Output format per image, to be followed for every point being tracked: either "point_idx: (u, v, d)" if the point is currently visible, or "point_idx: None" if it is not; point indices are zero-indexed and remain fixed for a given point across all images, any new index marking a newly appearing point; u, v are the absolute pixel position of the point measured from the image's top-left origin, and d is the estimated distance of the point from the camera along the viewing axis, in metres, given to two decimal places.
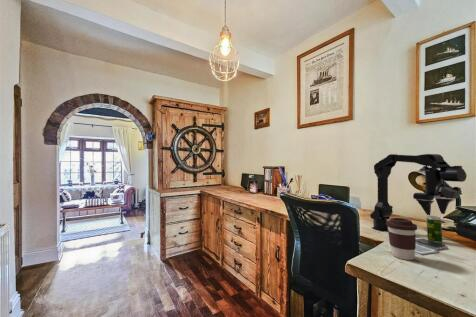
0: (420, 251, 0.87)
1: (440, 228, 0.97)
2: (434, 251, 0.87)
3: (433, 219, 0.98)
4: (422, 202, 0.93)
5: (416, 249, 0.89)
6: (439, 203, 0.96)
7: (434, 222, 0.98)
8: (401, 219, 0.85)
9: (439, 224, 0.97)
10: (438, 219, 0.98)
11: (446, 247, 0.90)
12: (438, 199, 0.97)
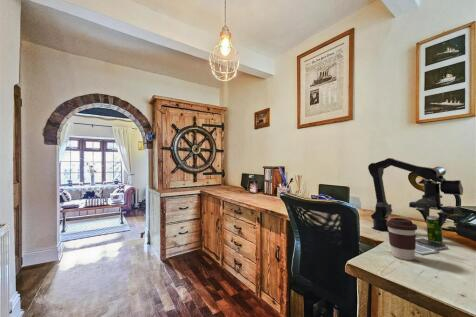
0: (420, 251, 0.87)
1: (440, 228, 0.97)
2: (434, 251, 0.87)
3: (433, 219, 0.98)
4: None
5: (416, 249, 0.89)
6: None
7: (434, 222, 0.98)
8: (401, 219, 0.85)
9: None
10: (438, 219, 0.98)
11: (446, 247, 0.90)
12: None
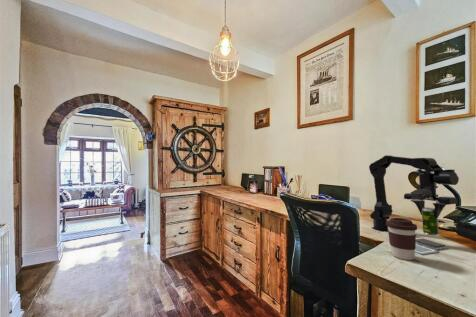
0: (420, 251, 0.87)
1: (436, 220, 0.94)
2: (434, 251, 0.87)
3: (429, 211, 0.95)
4: None
5: (416, 249, 0.89)
6: None
7: (430, 214, 0.95)
8: (401, 219, 0.85)
9: None
10: (434, 210, 0.94)
11: (446, 247, 0.90)
12: None
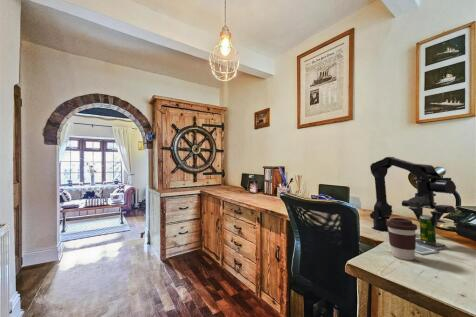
0: (420, 251, 0.87)
1: (433, 228, 0.93)
2: (434, 251, 0.87)
3: (426, 218, 0.94)
4: None
5: (416, 249, 0.89)
6: None
7: (427, 222, 0.93)
8: (401, 219, 0.85)
9: (432, 224, 0.93)
10: (431, 218, 0.93)
11: (446, 247, 0.90)
12: None
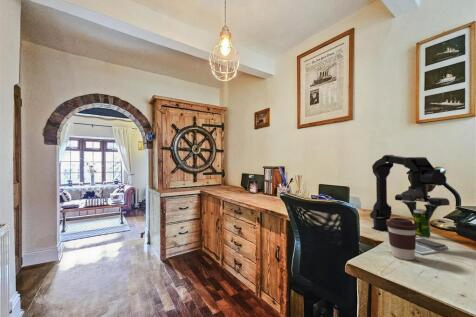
0: (420, 251, 0.87)
1: (427, 222, 0.90)
2: (434, 251, 0.87)
3: (420, 212, 0.91)
4: None
5: (416, 249, 0.89)
6: None
7: (421, 216, 0.90)
8: (401, 219, 0.85)
9: (426, 218, 0.90)
10: (425, 212, 0.90)
11: (446, 247, 0.90)
12: None
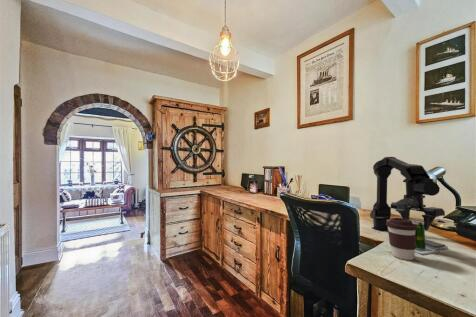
0: (420, 251, 0.87)
1: (423, 233, 0.88)
2: (434, 251, 0.87)
3: (415, 223, 0.89)
4: None
5: (416, 249, 0.89)
6: None
7: None
8: (401, 219, 0.85)
9: (422, 229, 0.88)
10: (421, 223, 0.88)
11: (446, 247, 0.90)
12: None
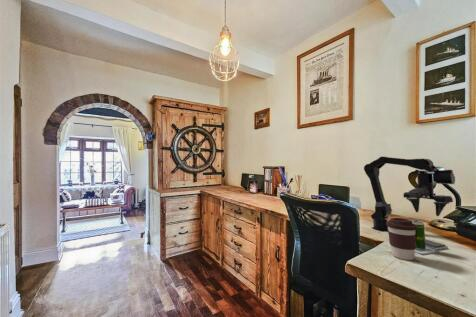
0: (420, 251, 0.87)
1: (423, 234, 0.88)
2: (434, 251, 0.87)
3: (415, 224, 0.89)
4: None
5: None
6: None
7: None
8: (401, 219, 0.85)
9: (422, 229, 0.88)
10: (420, 224, 0.88)
11: (446, 247, 0.90)
12: None
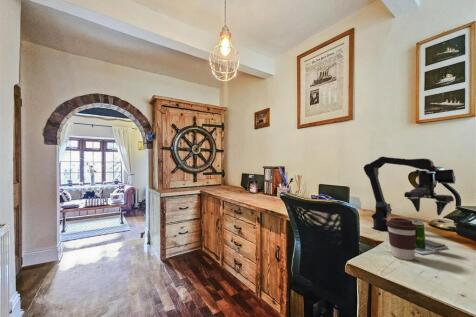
0: (420, 251, 0.87)
1: (423, 234, 0.88)
2: (434, 251, 0.87)
3: (415, 224, 0.89)
4: None
5: None
6: None
7: None
8: (401, 219, 0.85)
9: (422, 229, 0.88)
10: (420, 224, 0.88)
11: (446, 247, 0.90)
12: None
